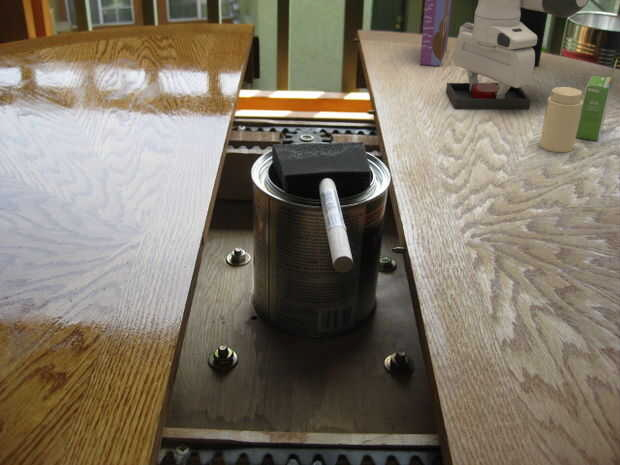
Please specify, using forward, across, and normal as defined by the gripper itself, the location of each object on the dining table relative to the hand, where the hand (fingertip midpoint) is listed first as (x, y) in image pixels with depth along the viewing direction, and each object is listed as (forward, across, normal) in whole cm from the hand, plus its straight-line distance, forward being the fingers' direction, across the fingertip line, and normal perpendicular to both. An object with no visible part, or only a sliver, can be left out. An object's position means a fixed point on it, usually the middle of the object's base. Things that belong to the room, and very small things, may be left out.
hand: (486, 96), depth 139 cm
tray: (+1, 0, 0) cm, 1 cm away
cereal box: (+1, -33, +12) cm, 35 cm away
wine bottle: (+1, -17, +28) cm, 33 cm away
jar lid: (-2, 0, 0) cm, 2 cm away
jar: (+1, +26, -6) cm, 26 cm away
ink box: (+1, +24, +4) cm, 24 cm away
